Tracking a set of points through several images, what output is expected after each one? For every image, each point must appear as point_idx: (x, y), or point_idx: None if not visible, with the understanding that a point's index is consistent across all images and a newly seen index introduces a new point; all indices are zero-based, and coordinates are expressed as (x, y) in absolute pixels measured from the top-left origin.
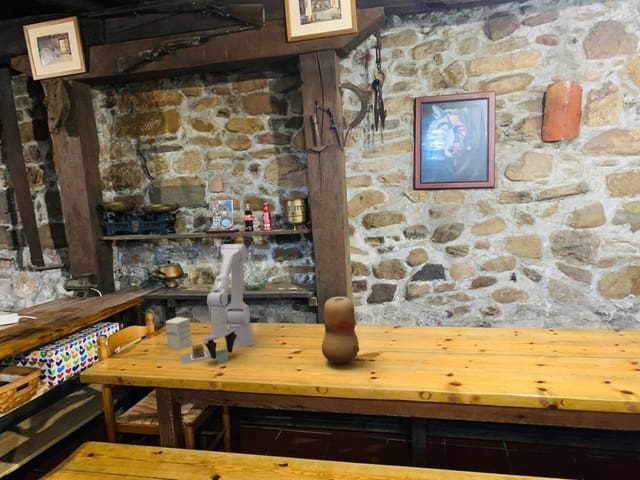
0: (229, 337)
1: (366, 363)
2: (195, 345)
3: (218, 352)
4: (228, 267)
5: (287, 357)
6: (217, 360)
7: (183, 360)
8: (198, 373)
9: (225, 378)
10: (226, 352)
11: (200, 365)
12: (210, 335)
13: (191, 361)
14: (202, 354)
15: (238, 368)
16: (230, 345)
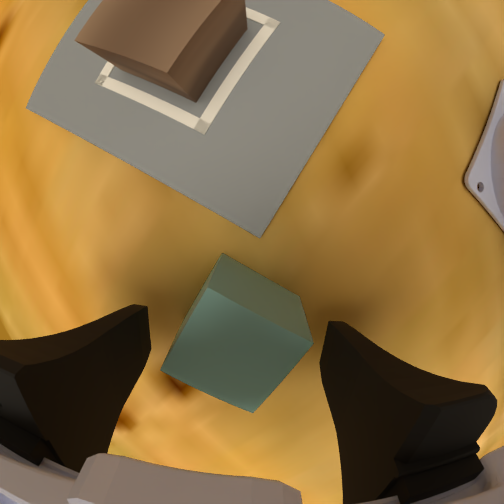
0: (362, 486)
1: None
2: None
3: (198, 346)
4: None
5: None
6: (186, 317)
7: (69, 46)
8: (39, 311)
9: (117, 450)
10: (245, 407)
11: (90, 217)
12: (11, 479)
13: (77, 109)
14: (177, 89)
15: (220, 449)
16: (338, 413)
